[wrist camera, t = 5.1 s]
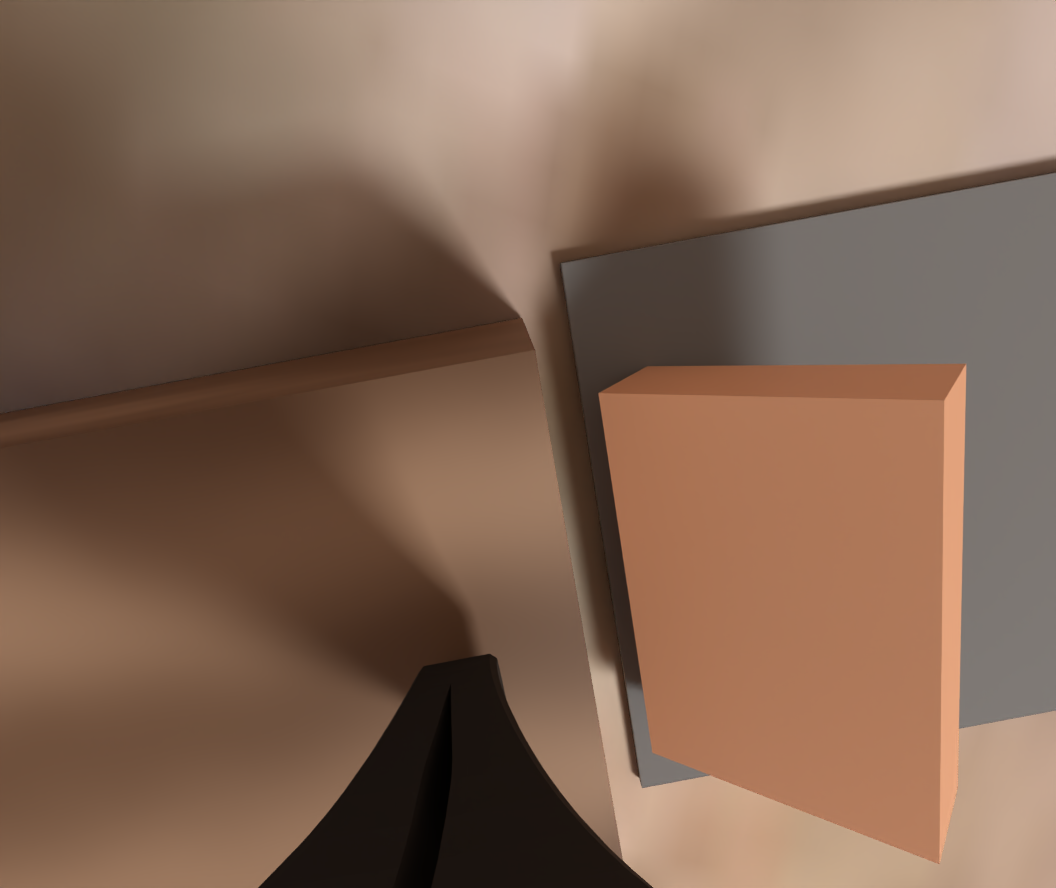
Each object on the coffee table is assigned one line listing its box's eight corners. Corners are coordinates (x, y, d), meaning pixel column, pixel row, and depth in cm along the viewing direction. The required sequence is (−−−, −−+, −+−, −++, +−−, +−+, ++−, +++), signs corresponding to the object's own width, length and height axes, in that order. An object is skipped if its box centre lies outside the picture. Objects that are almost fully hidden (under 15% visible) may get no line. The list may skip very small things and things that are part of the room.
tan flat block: (599, 757, 19) (628, 892, 15) (88, 852, 19) (-12, 1013, 15) (522, 318, 15) (534, 349, 11) (-115, 434, 15) (-317, 506, 11)
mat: (1066, 699, 19) (1075, 706, 19) (639, 779, 19) (642, 788, 19) (1110, 161, 15) (1122, 160, 15) (559, 263, 15) (561, 263, 15)
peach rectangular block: (651, 752, 17) (689, 701, 18) (939, 864, 13) (957, 788, 14) (598, 392, 14) (647, 366, 15) (944, 399, 10) (966, 363, 12)
